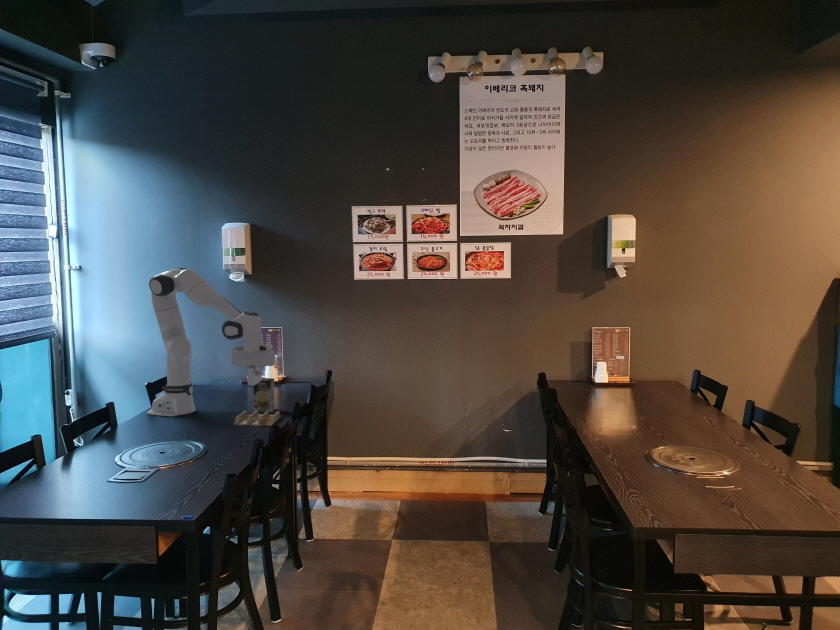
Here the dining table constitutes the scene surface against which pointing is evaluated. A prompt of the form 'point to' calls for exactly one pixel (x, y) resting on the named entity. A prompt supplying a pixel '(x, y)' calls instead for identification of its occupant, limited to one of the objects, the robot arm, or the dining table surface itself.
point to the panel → (253, 375)
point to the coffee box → (264, 395)
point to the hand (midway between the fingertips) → (254, 375)
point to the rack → (257, 419)
